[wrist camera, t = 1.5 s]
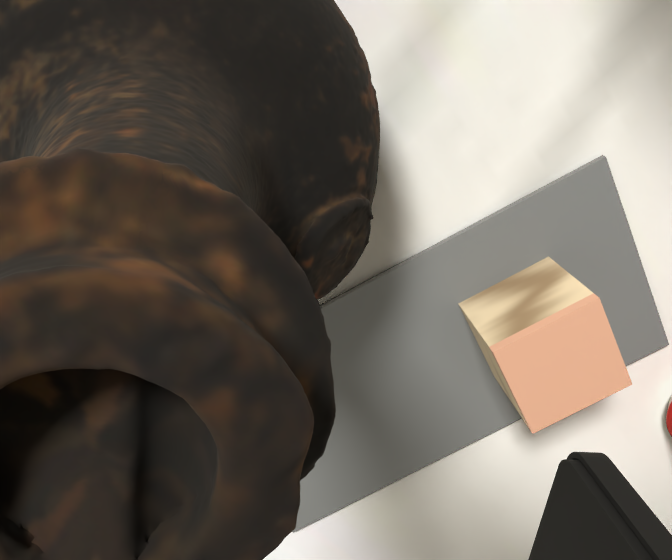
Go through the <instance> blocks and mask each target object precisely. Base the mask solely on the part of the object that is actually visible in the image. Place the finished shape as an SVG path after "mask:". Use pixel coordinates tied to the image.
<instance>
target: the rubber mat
mask: <svg viewBox="0 0 672 560" xmlns="http://www.w3.org/2000/svg"><path fill="white" fill-rule="evenodd" d="M547 257H550V258H551V259H552V260H554V261H555V262H556V263H557V264H558V265H560V266H561V267H562V268H563V269H565V270H566V271H567V272H568V273H570V274H571V275H572V276H573V277H574V278H576V279H577V280H578V281H579V282H581V283H582V284H583V285H584V286H586V287H587V288H588V289H589V290H590V291H592V292H593V293H594V294H595V295H597V296H598V297H599V298H600V300H601V303H602V306H603V308H604V311H605V314H606V316H607V319H608V321H609V324H610V327H611V329H612V332H613V335H614V337H615V340H616V343H617V345H618V348H619V350H620V353H621V356H622V358H623V361H624V364H625V366H627V365H629V364H631V363H633V362H635V361H637V360H639V359H641V358H643V357H645V356H647V355H649V354H651V353H653V352H655V351H657V350H659V349H661V348H663V347H665V346H667V345H669V343H668V340H667V337H666V334H665V331H664V328H663V325H662V322H661V319H660V316H659V313H658V310H657V307H656V305H655V302H654V299H653V296H652V293H651V290H650V287H649V284H648V281H647V278H646V275H645V272H644V269H643V266H642V263H641V260H640V257H639V254H638V251H637V248H636V245H635V242H634V239H633V236H632V233H631V230H630V227H629V224H628V221H627V218H626V215H625V212H624V209H623V206H622V203H621V200H620V197H619V194H618V191H617V189H616V186H615V183H614V180H613V177H612V174H611V171H610V168H609V165H608V162H607V159H606V157H605V156H603V155H602V156H600V157H598V158H596V159H594V160H593V161H591V162H589V163H587V164H585V165H583V166H581V167H579V168H578V169H576V170H574V171H572V172H570V173H568V174H566V175H564V176H563V177H561V178H559V179H557V180H555V181H553V182H551V183H549V184H548V185H546V186H544V187H542V188H540V189H538V190H536V191H534V192H533V193H531V194H529V195H527V196H525V197H523V198H521V199H519V200H518V201H516V202H514V203H512V204H510V205H508V206H506V207H504V208H503V209H501V210H499V211H497V212H495V213H493V214H491V215H489V216H488V217H486V218H484V219H482V220H480V221H478V222H476V223H474V224H473V225H471V226H469V227H467V228H465V229H463V230H461V231H459V232H458V233H456V234H454V235H452V236H450V237H448V238H446V239H444V240H443V241H441V242H439V243H437V244H435V245H433V246H431V247H429V248H428V249H426V250H424V251H422V252H420V253H418V254H416V255H414V256H413V257H411V258H409V259H407V260H405V261H403V262H401V263H399V264H398V265H396V266H394V267H392V268H390V269H388V270H386V271H384V272H383V273H381V274H379V275H377V276H375V277H373V278H371V279H369V280H367V281H366V282H364V283H362V284H360V285H358V286H356V287H354V288H352V289H351V290H349V291H347V292H345V293H343V294H341V295H339V296H337V297H336V298H334V299H332V300H330V301H328V302H326V303H324V304H322V305H321V306H320V307H321V311H322V314H323V316H324V322H325V327H326V332H327V336H328V338H329V339H330V341H331V367H332V374H333V380H334V397H335V405H336V413H335V416H336V417H335V420H334V425H333V427H332V430H331V434H330V436H329V439H328V442H327V445H326V448H325V451H324V454H323V456H322V457H320V458H319V459H318V460H317V461H316V463H315V467H314V468H313V469H312V470H311V471H310V472H309V473H308V475H307V476H306V477H304V478H303V479H302V480H301V481H300V506H299V510H298V514H297V522H296V528H295V529H294V530H293V531H292V532H295V531H297V530H299V529H301V528H303V527H305V526H307V525H309V524H311V523H313V522H315V521H317V520H319V519H321V518H323V517H325V516H327V515H329V514H331V513H333V512H335V511H337V510H339V509H341V508H343V507H345V506H347V505H349V504H351V503H353V502H355V501H357V500H359V499H361V498H363V497H365V496H367V495H369V494H371V493H373V492H375V491H377V490H379V489H381V488H383V487H385V486H387V485H389V484H391V483H393V482H395V481H397V480H399V479H401V478H403V477H405V476H407V475H409V474H411V473H413V472H415V471H417V470H419V469H421V468H423V467H425V466H427V465H429V464H431V463H433V462H435V461H437V460H439V459H441V458H443V457H445V456H447V455H449V454H451V453H453V452H455V451H457V450H459V449H461V448H463V447H465V446H467V445H469V444H471V443H473V442H475V441H477V440H479V439H481V438H483V437H485V436H487V435H489V434H491V433H493V432H495V431H497V430H499V429H501V428H503V427H505V426H507V425H509V424H511V423H513V422H515V421H517V420H519V419H521V418H522V417H521V416H520V414H519V413H518V411H517V410H516V408H515V407H514V405H513V404H512V402H511V401H510V399H509V398H508V396H507V395H506V393H505V392H504V390H503V389H502V387H501V386H500V384H499V383H498V381H497V380H496V378H495V377H494V375H493V373H492V371H491V369H490V367H489V365H488V363H487V361H486V359H485V357H484V355H483V353H482V351H481V349H480V347H479V345H478V342H477V340H476V338H475V336H474V334H473V332H472V330H471V328H470V326H469V324H468V322H467V320H466V318H465V316H464V314H463V312H462V310H461V308H460V306H459V303H461V302H462V301H464V300H466V299H468V298H470V297H472V296H474V295H476V294H478V293H480V292H482V291H484V290H485V289H487V288H489V287H491V286H493V285H495V284H497V283H499V282H501V281H503V280H505V279H506V278H508V277H510V276H512V275H514V274H516V273H518V272H520V271H522V270H524V269H526V268H528V267H529V266H531V265H533V264H535V263H537V262H539V261H541V260H543V259H545V258H547Z"/></svg>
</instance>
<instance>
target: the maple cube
mask: <svg viewBox="0 0 672 560" xmlns="http://www.w3.org/2000/svg"><path fill="white" fill-rule="evenodd" d="M459 306H460V308H461V310H462V312H463V314H464V316H465V318H466V320H467V322H468V324H469V326H470V328H471V330H472V332H473V334H474V336H475V338H476V340H477V342H478V345H479V347H480V349H481V351H482V353H483V355H484V357H485V359H486V361H487V363H488V365H489V367H490V369H491V371H492V373H493V375H494V377H495V378H496V380H497V381H498V383H499V384H500V386H501V387H502V389H503V390H504V392H505V393H506V395H507V396H508V398H509V399H510V401H511V402H512V404H513V405H514V407H515V408H516V410H517V411H518V413H519V414H520V416H521V417H522V419H523V420H524V422H525V423H526V425H527V426H528V428H529V429H530V431H531V432H532V434H533V433H535V432H537V431H539V430H541V429H543V428H545V427H547V426H549V425H551V424H554V423H556V422H558V421H560V420H562V419H564V418H566V417H568V416H570V415H572V414H574V413H576V412H578V411H580V410H582V409H584V408H586V407H588V406H590V405H592V404H594V403H596V402H598V401H600V400H602V399H604V398H606V397H608V396H610V395H612V394H614V393H616V392H618V391H620V390H622V389H624V388H626V387H628V386H630V385H632V382H631V379H630V377H629V374H628V372H627V369H626V366H625V364H624V361H623V358H622V356H621V353H620V350H619V348H618V345H617V343H616V340H615V337H614V335H613V332H612V329H611V327H610V324H609V321H608V319H607V316H606V314H605V311H604V308H603V306H602V303H601V300H600V298H599V297H598V296H597V295H595V294H594V293H593V292H592V291H590V290H589V289H588V288H587V287H586V286H584V285H583V284H582V283H581V282H579V281H578V280H577V279H576V278H574V277H573V276H572V275H571V274H570V273H568V272H567V271H566V270H565V269H563V268H562V267H561V266H560V265H558V264H557V263H556V262H555V261H554V260H552V259H551V258H550V257H547V258H545V259H543V260H541V261H539V262H537V263H535V264H533V265H531V266H529V267H528V268H526V269H524V270H522V271H520V272H518V273H516V274H514V275H512V276H510V277H508V278H506V279H505V280H503V281H501V282H499V283H497V284H495V285H493V286H491V287H489V288H487V289H485V290H484V291H482V292H480V293H478V294H476V295H474V296H472V297H470V298H468V299H466V300H464V301H462V302H461V303H459Z"/></svg>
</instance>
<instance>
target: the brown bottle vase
mask: <svg viewBox="0 0 672 560" xmlns="http://www.w3.org/2000/svg"><path fill="white" fill-rule="evenodd" d="M379 142H380V120H379V111H378V102H377V98H376V91H375V89H374V87H373V85H372V82H371V74H370V71H369V66H368V62H367V59H366V57H365V54H364V52H363V50H362V48H361V47H360V45H359V43H358V39H357V37H356V35H355V33H354V30H353V28H352V27H351V25H350V24H349V23H348V21H347V20H346V18H345V17H344V15H343V13H342V12H341V10H340V9H339V7H338V6H337V4H336V3H335V1H334V0H0V560H263V559H264V558H265V557H266V556H267V555H268V554H270V553H271V552H272V551H273V550H274V549H276V548H277V547H278V546H279V544H280V543H281V542H282V541H283V539H284V538H285V537H286V536H287V535H288V534H289V533H291V532H292V531H293V530H294V529H295V528H296V522H297V514H298V510H299V506H300V481H301V480H302V479H303V478H304V477H306V476H307V475H308V473H309V472H310V471H311V470H312V469H313V468H314V467H315V463H316V461H317V460H318V459H319V458H320V457H322V456H323V454H324V451H325V448H326V445H327V442H328V439H329V436H330V434H331V430H332V427H333V425H334V420H335V417H336V416H335V413H336V405H335V397H334V380H333V374H332V367H331V341H330V339H329V338H328V336H327V332H326V327H325V322H324V316H323V314H322V311H321V307H320V305H319V303H318V300H317V299H320V298H322V297H324V296H325V295H327V294H328V293H329V292H330V291H331V290H333V289H334V288H336V287H337V285H338V284H339V283H340V282H341V281H342V280H343V279H344V278H345V277H346V276H347V275H348V274H349V272H350V271H351V270H352V268H353V267H354V266H355V265H356V263H357V261H358V259H359V258H360V256H361V254H362V253H363V251H364V249H365V247H366V245H367V244H368V242H369V235H370V220H371V219H373V216H372V212H371V205H372V201H373V197H374V194H375V189H376V184H377V171H378V158H379Z"/></svg>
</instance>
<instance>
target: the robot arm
mask: <svg viewBox="0 0 672 560" xmlns="http://www.w3.org/2000/svg"><path fill="white" fill-rule="evenodd" d="M528 560H672V535H671V534H670V533H669V531H668V530H667V529H666V528H665V527H664V525H663V524H662V523H661V522H660V520H659V519H658V518H657V517H656V515H655V514H654V513H653V512H652V511H651V509H650V508H649V507H648V506H647V504H646V503H645V502H644V501H643V499H642V498H641V497H640V496H639V495H638V493H637V492H636V491H635V490H634V488H633V487H632V486H631V485H630V483H629V482H628V481H627V480H626V478H625V477H624V476H623V475H622V474H621V472H620V471H619V470H618V469H617V467H616V466H615V465H614V464H613V462H612V461H611V460H610V459H609V458H608V457H607V456H606V455H605V454H603V453H591V452H573V453H571V454H570V455H569V456H568V457H567V460H566V459H565V460H562V461H561V462H560V464H559V466H558V469H557V472H556V475H555V478H554V482H553V485H552V488H551V491H550V494H549V497H548V500H547V503H546V507H545V510H544V513H543V516H542V519H541V522H540V525H539V528H538V531H537V535H536V538H535V541H534V544H533V547H532V550H531V553H530V556H529V559H528Z"/></svg>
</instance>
